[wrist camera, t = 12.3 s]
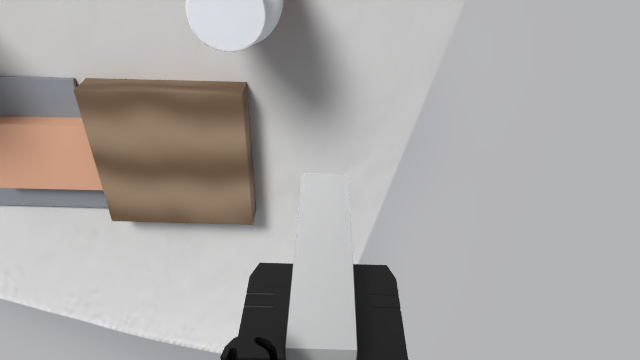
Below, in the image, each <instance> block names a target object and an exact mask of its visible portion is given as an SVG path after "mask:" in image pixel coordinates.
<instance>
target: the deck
mask: <svg viewBox="0 0 640 360" xmlns="http://www.w3.org/2000/svg"><path fill="white" fill-rule="evenodd" d="M74 94H75V97H76V100H77V104H78V107H79V111H80V114H81V117H82V121H83V124H84V127H85V131H86V134H87V138H88V141H89V144H90V148H91V151H92V154H93V158H94V161H95V164H96V168H97V171H98V175H99V178H100V181H101V185H102V188H103V191H104V195H105V198H106V202H107V205H108V208H109V212H110V215H111V218H112V221H134V222H171V223H209V224H247V225H253V221H254V216H255V212H256V202H255V189H254V175H253V162H252V149H251V136H250V122H249V109H248V96H247V82H217V81H176V80H134V79H92V78H86V79H85V80H84V81H83V82H82V83H81V84H80V85H79V86H77V87H76V88H75V89H74Z"/></svg>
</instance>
